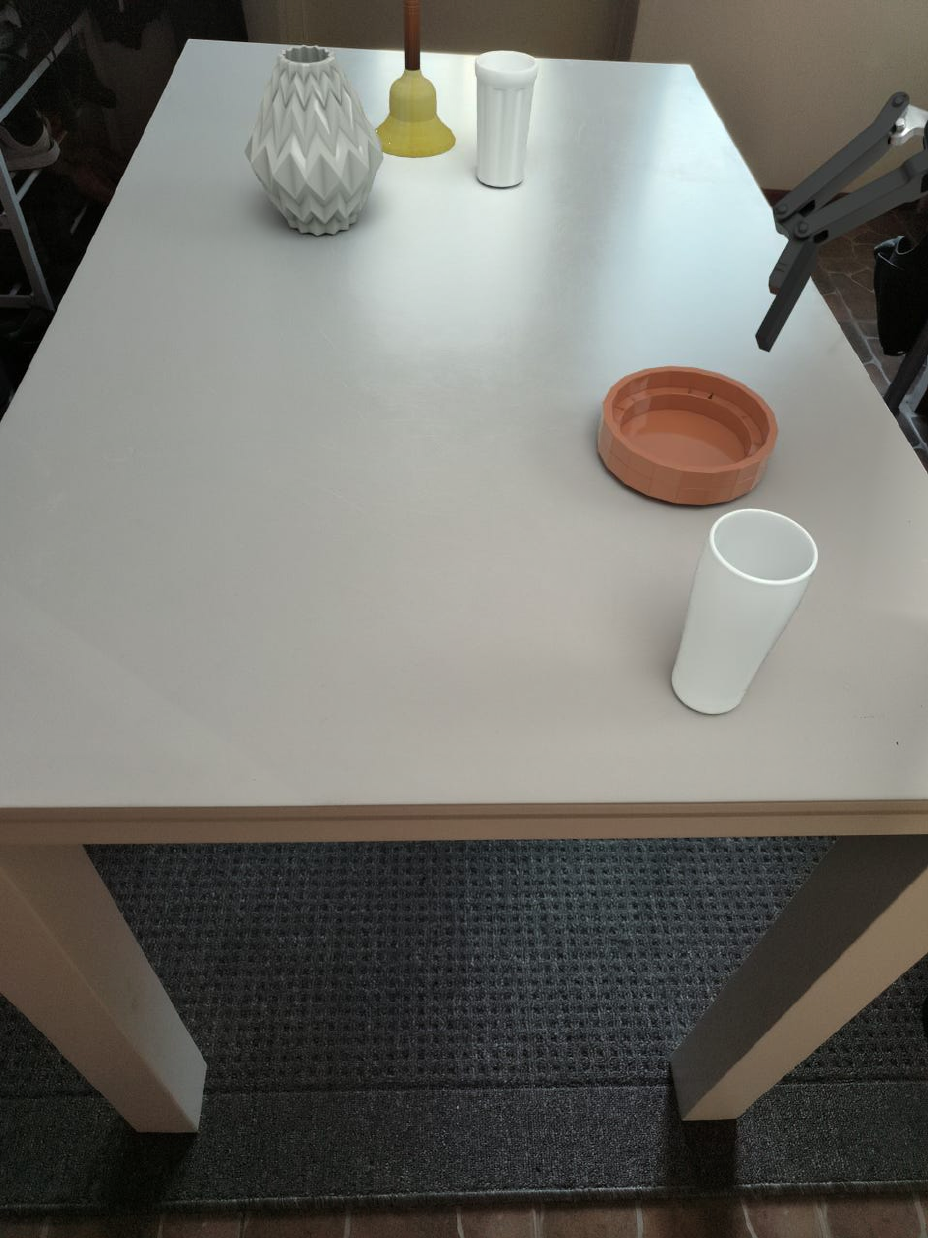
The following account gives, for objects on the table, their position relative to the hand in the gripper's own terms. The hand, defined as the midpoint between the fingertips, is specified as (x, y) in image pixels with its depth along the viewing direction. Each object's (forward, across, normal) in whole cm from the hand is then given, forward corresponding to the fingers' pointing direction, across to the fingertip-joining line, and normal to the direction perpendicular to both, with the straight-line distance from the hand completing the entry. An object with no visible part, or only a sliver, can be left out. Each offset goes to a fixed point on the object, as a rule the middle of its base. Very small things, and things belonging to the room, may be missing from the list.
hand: (861, 383), depth 56 cm
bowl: (+6, +14, -23) cm, 28 cm away
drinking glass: (+22, 0, -7) cm, 24 cm away
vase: (-2, +72, -33) cm, 79 cm away
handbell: (-22, +79, -52) cm, 97 cm away
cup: (-20, +62, -50) cm, 82 cm away
